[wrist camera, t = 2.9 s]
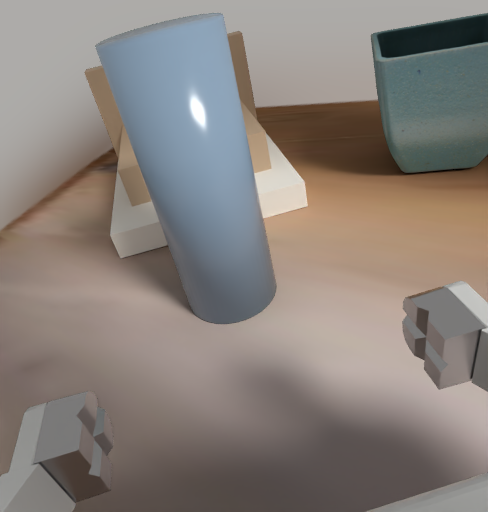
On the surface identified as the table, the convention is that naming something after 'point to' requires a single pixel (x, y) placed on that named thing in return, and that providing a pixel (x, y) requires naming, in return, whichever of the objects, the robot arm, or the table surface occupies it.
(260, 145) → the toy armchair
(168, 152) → the light blue cylinder
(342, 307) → the table surface
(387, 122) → the flower pot
